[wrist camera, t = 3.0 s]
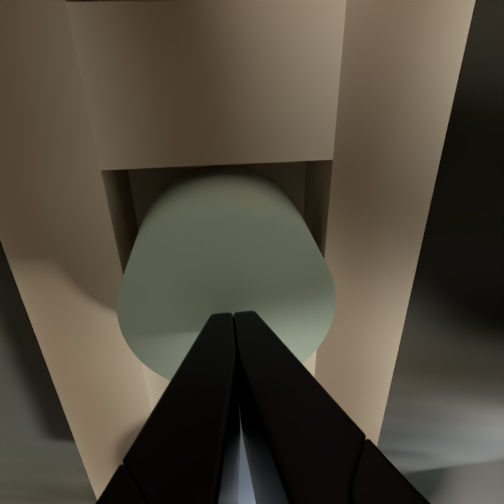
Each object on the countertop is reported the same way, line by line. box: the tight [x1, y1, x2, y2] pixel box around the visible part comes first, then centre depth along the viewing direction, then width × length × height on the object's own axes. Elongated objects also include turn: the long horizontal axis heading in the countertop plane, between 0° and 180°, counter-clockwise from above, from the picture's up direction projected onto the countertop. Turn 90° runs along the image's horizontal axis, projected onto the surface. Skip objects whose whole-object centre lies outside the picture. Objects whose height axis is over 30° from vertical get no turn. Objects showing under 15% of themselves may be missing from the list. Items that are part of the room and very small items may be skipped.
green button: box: [117, 165, 336, 381], centre depth 9 cm, size 4×4×3 cm
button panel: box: [0, 0, 475, 500], centre depth 11 cm, size 10×23×4 cm, turn 1°
